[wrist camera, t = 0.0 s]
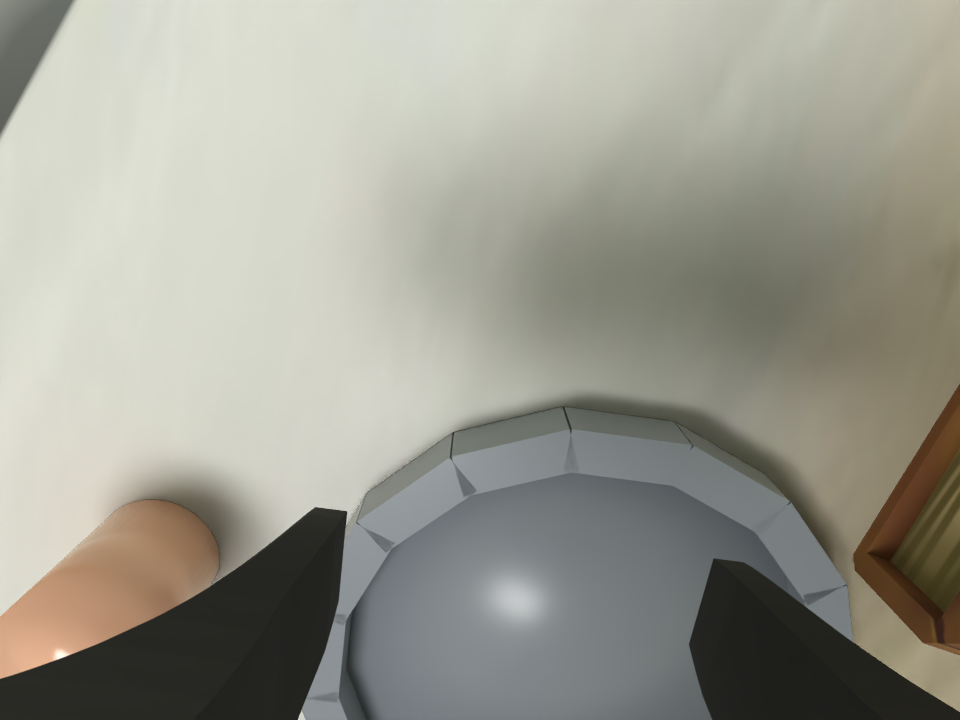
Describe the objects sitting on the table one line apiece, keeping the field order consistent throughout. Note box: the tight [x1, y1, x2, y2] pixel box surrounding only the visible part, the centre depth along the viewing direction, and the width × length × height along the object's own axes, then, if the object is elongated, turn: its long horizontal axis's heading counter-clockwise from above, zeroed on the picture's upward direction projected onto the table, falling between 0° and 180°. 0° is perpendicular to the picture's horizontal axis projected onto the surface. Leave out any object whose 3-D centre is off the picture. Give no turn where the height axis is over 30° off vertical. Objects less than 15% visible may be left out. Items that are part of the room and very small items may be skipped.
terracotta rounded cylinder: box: [0, 499, 220, 679], centre depth 21 cm, size 4×4×6 cm
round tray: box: [302, 407, 853, 720], centre depth 24 cm, size 20×20×2 cm
